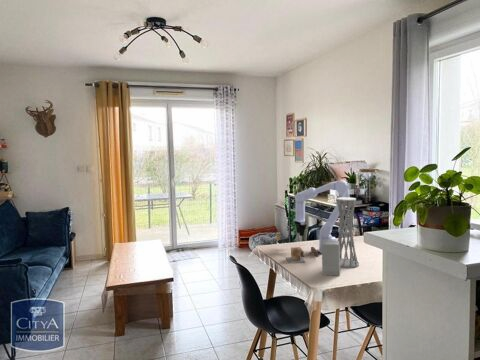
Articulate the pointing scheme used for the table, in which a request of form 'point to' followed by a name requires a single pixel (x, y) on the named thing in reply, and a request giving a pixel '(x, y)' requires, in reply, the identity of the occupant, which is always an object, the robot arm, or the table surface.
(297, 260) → the slate mat
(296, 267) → the table surface
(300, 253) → the shelf slot
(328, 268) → the skincare box
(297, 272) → the table surface
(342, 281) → the table surface
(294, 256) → the oak block
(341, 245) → the vase
